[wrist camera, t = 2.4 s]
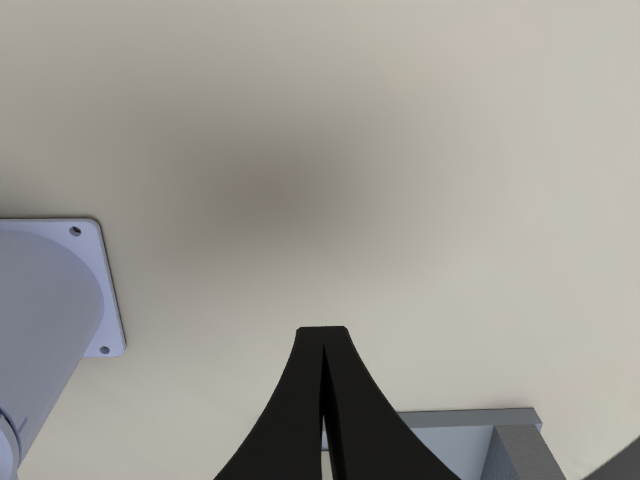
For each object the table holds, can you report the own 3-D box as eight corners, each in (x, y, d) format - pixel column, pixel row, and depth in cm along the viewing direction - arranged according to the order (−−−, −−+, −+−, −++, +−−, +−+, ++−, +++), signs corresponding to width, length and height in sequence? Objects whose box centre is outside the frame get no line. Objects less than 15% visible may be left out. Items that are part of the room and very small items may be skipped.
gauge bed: (266, 500, 32) (265, 521, 31) (261, 417, 29) (260, 437, 27) (508, 489, 33) (516, 510, 32) (533, 408, 30) (544, 427, 28)
